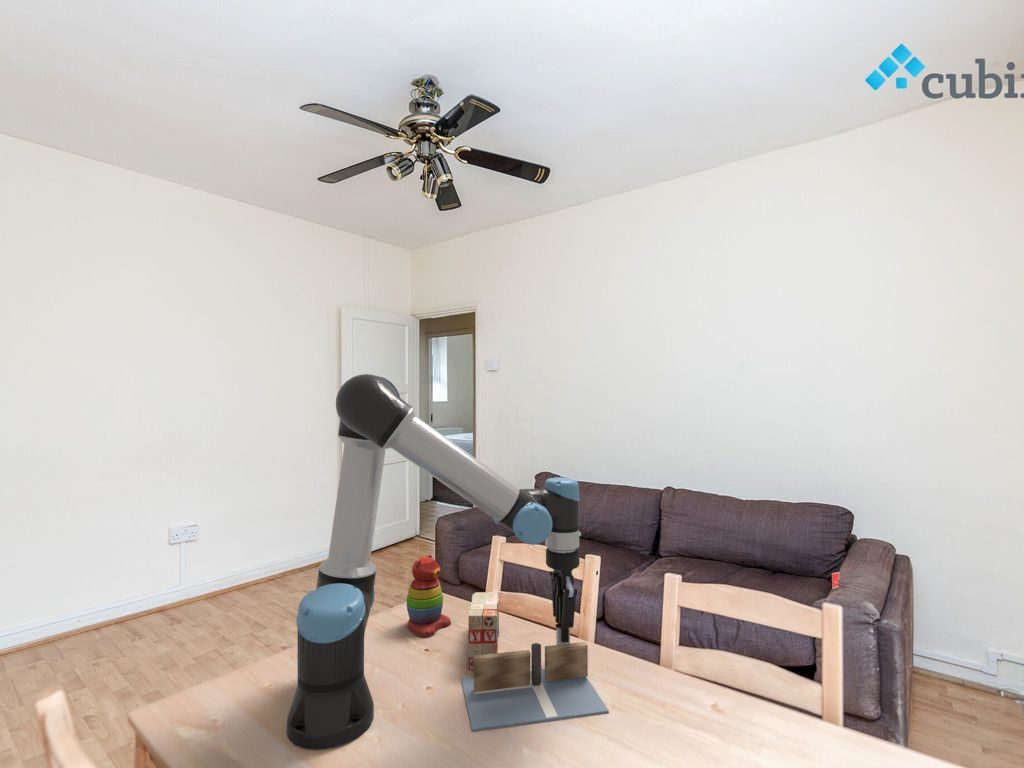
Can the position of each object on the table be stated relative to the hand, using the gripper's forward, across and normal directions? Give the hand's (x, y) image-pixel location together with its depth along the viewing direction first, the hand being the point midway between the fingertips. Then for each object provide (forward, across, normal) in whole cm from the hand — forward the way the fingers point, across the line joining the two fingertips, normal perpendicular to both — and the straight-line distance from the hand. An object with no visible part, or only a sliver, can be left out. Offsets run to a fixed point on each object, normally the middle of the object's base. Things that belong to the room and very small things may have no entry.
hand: (563, 654), depth 118 cm
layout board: (+2, -10, +10) cm, 15 cm away
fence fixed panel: (+2, -7, +14) cm, 16 cm away
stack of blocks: (+3, +12, +16) cm, 20 cm away
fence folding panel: (+1, -7, +1) cm, 7 cm away
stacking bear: (+3, +26, +29) cm, 39 cm away
